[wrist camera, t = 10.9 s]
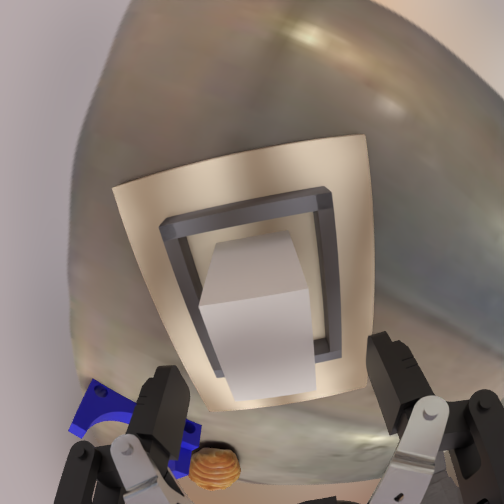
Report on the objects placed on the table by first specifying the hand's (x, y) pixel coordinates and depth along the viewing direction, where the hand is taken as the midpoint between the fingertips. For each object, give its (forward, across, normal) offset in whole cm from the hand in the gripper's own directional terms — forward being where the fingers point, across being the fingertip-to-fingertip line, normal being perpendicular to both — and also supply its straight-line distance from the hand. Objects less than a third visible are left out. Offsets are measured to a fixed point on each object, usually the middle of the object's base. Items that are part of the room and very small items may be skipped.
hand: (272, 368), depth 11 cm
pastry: (+8, +8, +24) cm, 27 cm away
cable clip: (+8, +15, +13) cm, 22 cm away
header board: (+8, 0, +2) cm, 8 cm away
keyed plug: (+6, 0, 0) cm, 7 cm away
